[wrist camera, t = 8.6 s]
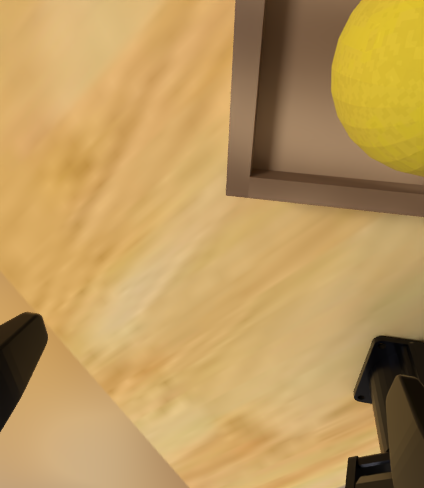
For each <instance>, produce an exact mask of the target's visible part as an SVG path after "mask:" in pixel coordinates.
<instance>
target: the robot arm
mask: <svg viewBox="0 0 424 488" xmlns="http://www.w3.org/2000/svg"><path fill="white" fill-rule="evenodd" d="M47 340H48V334H47V331H46V327H45V324H44V321H43V318H42V316H41V315H40V314H37V313H31V312H25V313H22V314H20V315H18V316H16V317H15V318H13V319H11V320H9V321H7V322H6V323H4V324H2V325H0V432H1V430H2V429H3V427H4V425H5V423H6V422H7V420H8V419H9V417H10V415H11V414H12V412H13V410H14V409H15V407H16V405H17V403H18V402H19V400H20V398H21V396H22V394H23V392H24V390H25V389H26V387H27V384H28V382H29V380H30V378H31V376H32V374H33V372H34V370H35V367H36V365H37V363H38V361H39V359H40V357H41V355H42V353H43V350H44V348H45V346H46V344H47ZM380 343H383V344H380ZM354 399H355V400H357V401H359V402H365V403H370V404H372V405H373V411H374V417H375V422H376V428H377V434H378V439H379V445H380V450H381V453H379V454H374V455H369V456H363V457H358V456H354V457H349V458H348V466H347V475H346V486H345V488H424V343H423V342H417V341H410V340H404V339H397V338H391V337H385V336H378V337H376V338H374V339H373V341H372V344H371V346H370V349H369V352H368V354H367V357H366V360H365V362H364V365H363V368H362V370H361V373H360V376H359V378H358V381H357V384H356V386H355V389H354Z"/></svg>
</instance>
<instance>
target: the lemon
mask: <svg viewBox="0 0 424 488" xmlns="http://www.w3.org/2000/svg"><path fill="white" fill-rule="evenodd" d="M331 93H332V97H333V101H334V105H335V109H336V113H337V116H338V118H339V120H340V122H341V123H342V125H343V127H344V129H345V130H346V132H347V134H348V136H349V137H350V139H351V140H352V141H354V142H355V143H356V144H357V145H358V146H359V147H360V148H361V149H362V150H363V151H364V152H365V153H366V154H367V155H368V156H369V157H371V158H372V159H374V160H376V161H378V162H380V163H382V164H384V165H386V166H388V167H390V168H392V169H394V170H396V171H400V172H404V173H409V174H413V175H417V176H422V177H424V0H361V1H360V3H359V4H358V5H357V6H356V8H355V9H354V10H353V12H352V13H351V15H350V17H349V19H348V21H347V23H346V25H345V27H344V29H343V31H342V33H341V35H340V37H339V39H338V43H337V47H336V51H335V55H334V58H333V62H332V71H331Z"/></svg>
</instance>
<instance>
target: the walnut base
mask: <svg viewBox="0 0 424 488" xmlns="http://www.w3.org/2000/svg"><path fill="white" fill-rule="evenodd" d="M360 1H361V0H236V3H235V23H234V43H233V63H232V84H231V104H230V124H229V144H228V164H227V184H226V195H227V196H236V197H245V198H254V199H263V200H273V201H282V202H291V203H300V204H309V205H318V206H328V207H337V208H346V209H355V210H364V211H373V212H383V213H392V214H401V215H410V216H419V217H424V177H422V176H417V175H413V174H409V173H404V172H400V171H396V170H394V169H392V168H390V167H388V166H386V165H384V164H382V163H380V162H378V161H376V160H374V159H372V158H371V157H369V156H368V155H367V154H366V153H365V152H364V151H363V150H362V149H361V148H360V147H359V146H358V145H357V144H356V143H355V142H354V141H352V140H351V139H350V137H349V136H348V134H347V132H346V130H345V129H344V127H343V125H342V123H341V122H340V120H339V118H338V116H337V113H336V109H335V105H334V101H333V97H332V93H331V71H332V62H333V58H334V55H335V51H336V47H337V43H338V39H339V37H340V35H341V33H342V31H343V29H344V27H345V25H346V23H347V21H348V19H349V17H350V15H351V13H352V12H353V10H354V9H355V8H356V6H357V5H358V4H359V3H360Z"/></svg>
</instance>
